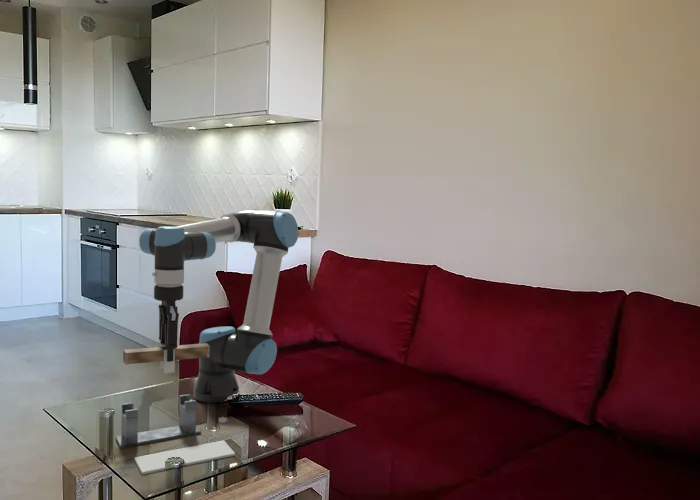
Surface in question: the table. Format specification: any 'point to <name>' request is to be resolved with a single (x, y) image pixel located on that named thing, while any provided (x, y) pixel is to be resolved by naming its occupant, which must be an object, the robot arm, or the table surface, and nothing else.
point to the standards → (134, 438)
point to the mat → (184, 456)
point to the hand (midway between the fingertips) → (167, 370)
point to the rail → (158, 354)
